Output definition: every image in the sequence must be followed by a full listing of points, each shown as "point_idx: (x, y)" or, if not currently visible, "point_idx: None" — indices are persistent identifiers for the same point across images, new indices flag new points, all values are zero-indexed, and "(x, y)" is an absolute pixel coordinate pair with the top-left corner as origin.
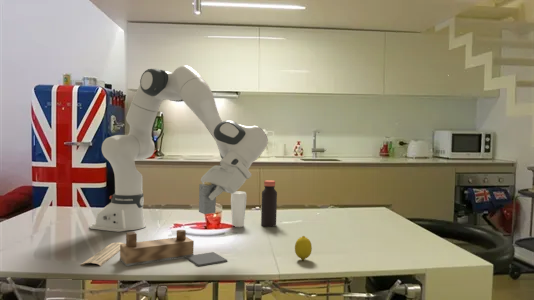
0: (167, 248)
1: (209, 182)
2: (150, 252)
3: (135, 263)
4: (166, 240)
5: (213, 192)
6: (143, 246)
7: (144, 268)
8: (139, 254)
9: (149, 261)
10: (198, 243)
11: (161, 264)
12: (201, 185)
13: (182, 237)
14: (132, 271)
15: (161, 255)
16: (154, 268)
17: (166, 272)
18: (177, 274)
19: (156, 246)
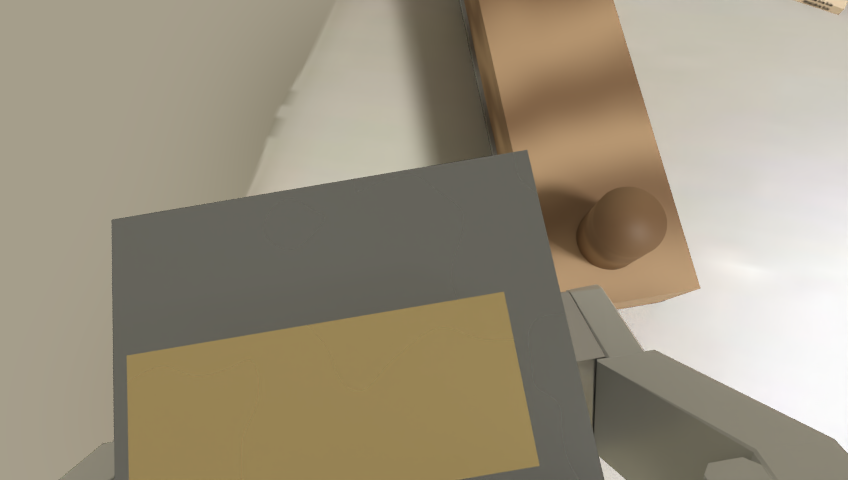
0: (506, 147)
1: (173, 449)
2: (485, 62)
3: (465, 23)
4: (608, 145)
5: (78, 467)
6: (501, 8)
7: (397, 58)
8: (473, 12)
9: (478, 84)
10: (825, 433)
11: (431, 135)
12: (361, 187)
13: (582, 235)
14: (373, 10)
15: (495, 131)
16: (380, 98)
17: (302, 139)
18: (254, 180)
19: (495, 75)
